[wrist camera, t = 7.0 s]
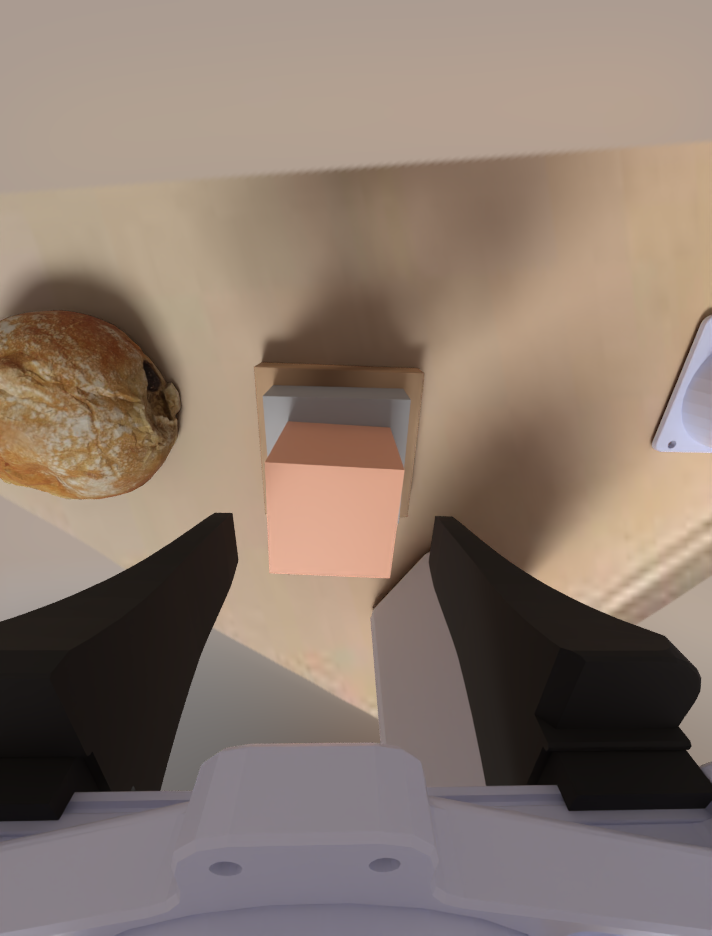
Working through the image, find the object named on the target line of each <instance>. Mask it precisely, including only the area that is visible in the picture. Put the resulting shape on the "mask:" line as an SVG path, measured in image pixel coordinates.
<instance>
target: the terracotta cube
mask: <svg viewBox="0 0 712 936" xmlns="http://www.w3.org/2000/svg"><path fill="white" fill-rule="evenodd" d="M404 471H405V470H404V467H403V464H402V461H401V458H400V455H399V452H398V449H397V446H396V443H395V440H394V437H393V434H392V431H391V428H390V427H375V426H358V425H341V424H325V423H308V422H292V421H288V422H287V424H286V425H285V427H284V429H283V431H282V432H281V434H280V436H279V438H278V440H277V441H276V443H275V445H274V447H273V448H272V450H271V452H270V454H269V456H268V457H267V459H266V461H265V481H266V504H267V526H268V549H269V572H270V573H277V574H300V575H324V576H347V577H370V578H390V573H391V566H392V559H393V552H394V544H395V537H396V530H397V522H398V515H399V508H400V501H401V493H402V486H403V479H404Z"/></svg>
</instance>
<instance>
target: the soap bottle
mask: <svg viewBox="0 0 712 936" xmlns="http://www.w3.org/2000/svg"><path fill="white" fill-rule="evenodd" d="M429 555H430V552H428V553H427V554H425V555H424V556H423V557H422V558H421V559H420V560H419V561H418V562H417V563H416V565H415V566H414V567H413V568H412V569H411V570H410V571H409V572H408V573H407V574H406V575H405V576H404V577H403V578H402V579H401V581H400V582H399V583H398V584H397V585H396V586H395V587H394V588H393V589H392V590H391V591H390V592H389V593H388V594H387V595H386V597H385V598H384V599H383V600H382V601H381V602H380V603H379V604H378V605H377V606H376V607H375V608H374V609H373V613H372V616H371V631H372V643H373V655H374V668H375V680H376V692H377V705H378V717H379V729H380V742H381V744H387V745H393V746H399V747H400V748H402V749H404V750H405V751H407V752H408V753H410V754H412V755H413V756H415V757H416V758H417V759H418V760H420V761H421V764H422V768H423V771H424V775H425V780H426V786H427V787H458V786H486V784H485V778H484V773H483V767H482V762H481V757H480V752H479V747H478V742H477V738H476V733H475V728H474V723H473V718H472V714H471V710H470V705H469V701H468V697H467V692H466V688H465V684H464V680H463V676H462V671H461V667H460V663H459V659H458V656H457V653H456V649H455V646H454V643H453V640H452V637H451V635H450V632H449V629H448V626H447V624H446V621H445V618H444V615H443V612H442V610H441V607H440V604H439V601H438V598H437V595H436V593H435V590H434V586H433V582H432V577H431V573H430V567H429Z"/></svg>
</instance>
